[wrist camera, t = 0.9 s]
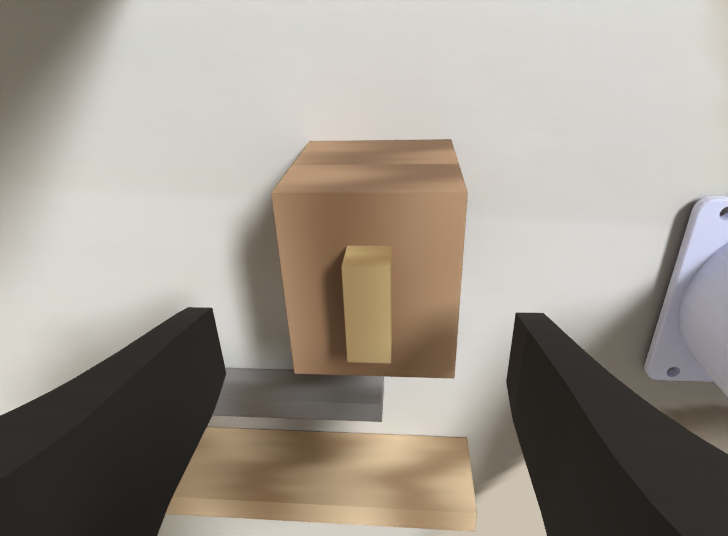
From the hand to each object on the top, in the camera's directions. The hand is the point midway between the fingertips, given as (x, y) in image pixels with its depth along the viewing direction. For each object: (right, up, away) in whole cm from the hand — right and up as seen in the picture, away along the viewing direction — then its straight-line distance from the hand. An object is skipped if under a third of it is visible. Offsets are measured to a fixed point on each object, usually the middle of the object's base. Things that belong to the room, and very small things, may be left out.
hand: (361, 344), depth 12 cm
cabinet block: (+1, +4, +7) cm, 8 cm away
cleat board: (-4, -5, +12) cm, 14 cm away
